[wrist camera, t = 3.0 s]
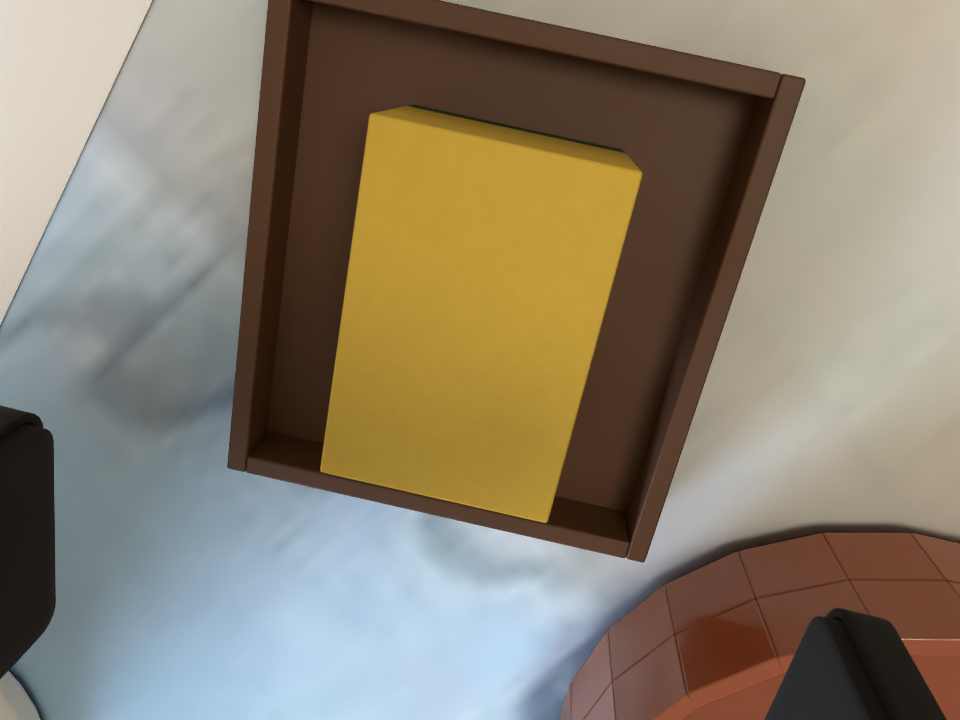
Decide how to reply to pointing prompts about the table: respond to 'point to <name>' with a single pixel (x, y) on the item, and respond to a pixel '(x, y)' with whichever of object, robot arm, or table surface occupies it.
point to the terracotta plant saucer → (770, 626)
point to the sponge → (473, 306)
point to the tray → (535, 106)
